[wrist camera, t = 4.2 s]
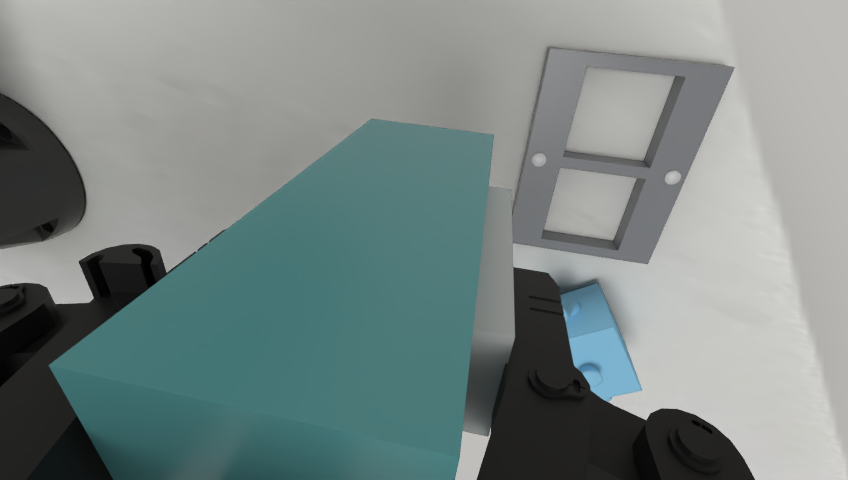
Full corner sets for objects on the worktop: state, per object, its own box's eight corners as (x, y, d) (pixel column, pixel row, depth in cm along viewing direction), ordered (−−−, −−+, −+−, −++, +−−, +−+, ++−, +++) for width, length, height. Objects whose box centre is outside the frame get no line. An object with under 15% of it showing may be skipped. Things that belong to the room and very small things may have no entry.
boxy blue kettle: (514, 269, 35) (517, 325, 29) (583, 245, 33) (601, 300, 27) (563, 361, 40) (574, 428, 33) (627, 346, 37) (652, 414, 31)
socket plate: (507, 233, 34) (507, 243, 32) (548, 46, 26) (550, 48, 25) (642, 254, 33) (648, 265, 31) (723, 64, 25) (736, 67, 24)
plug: (369, 225, 17) (32, 745, 5) (371, 118, 15) (-256, 597, 3) (475, 243, 16) (388, 869, 4) (493, 134, 14) (420, 824, 2)
